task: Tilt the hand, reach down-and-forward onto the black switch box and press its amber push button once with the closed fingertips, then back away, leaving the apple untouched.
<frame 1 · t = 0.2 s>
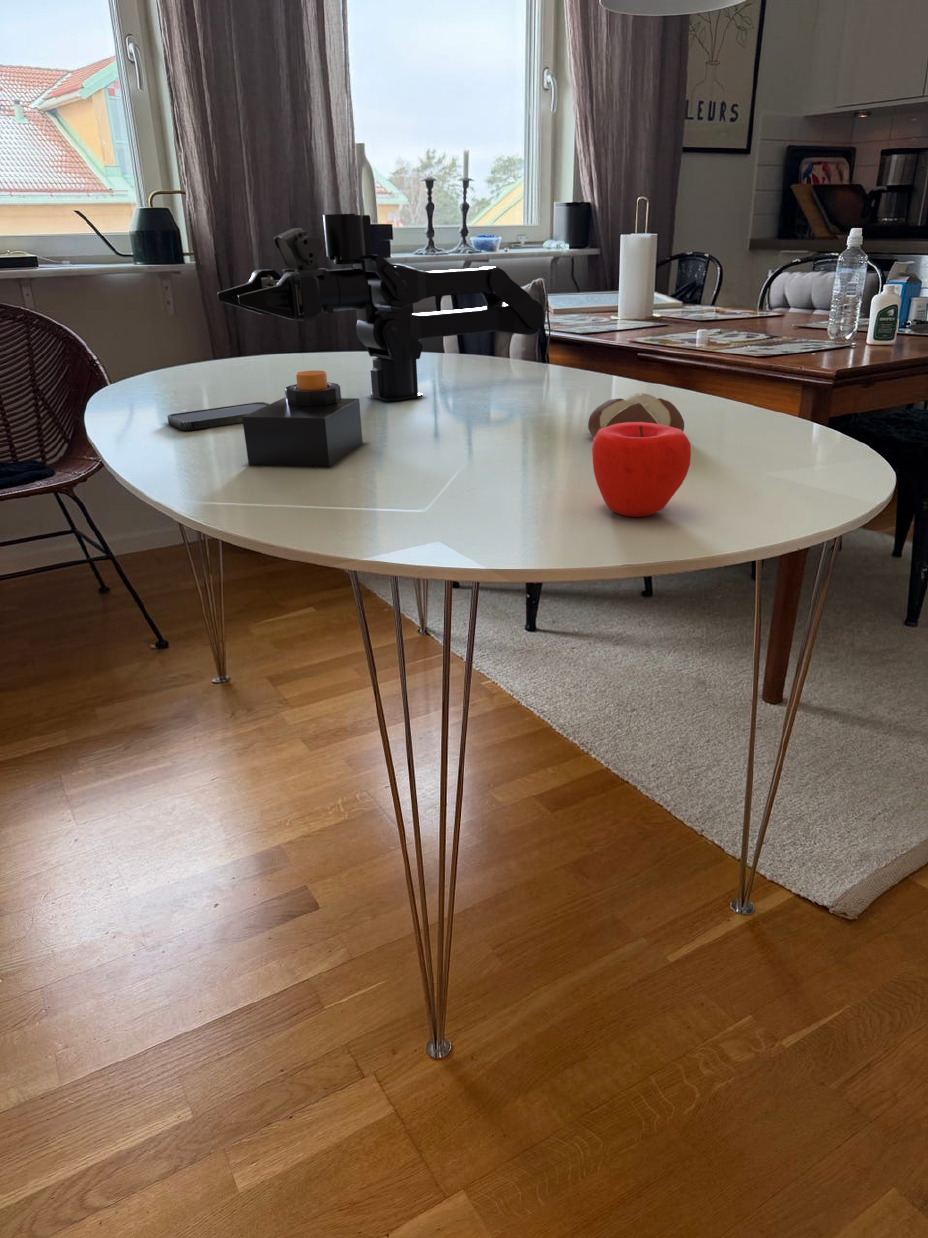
hand: (228, 298, 119), 17 cm above the table, tool horizontal, fingers open, 9 cm apart
black switch box: (308, 454, 104), on the table
phone: (226, 420, 125), on the table
apple: (636, 512, 80), on the table
button: (311, 381, 104), point 8 cm above the table, slide at 0.1 cm
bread: (632, 439, 107), on the table
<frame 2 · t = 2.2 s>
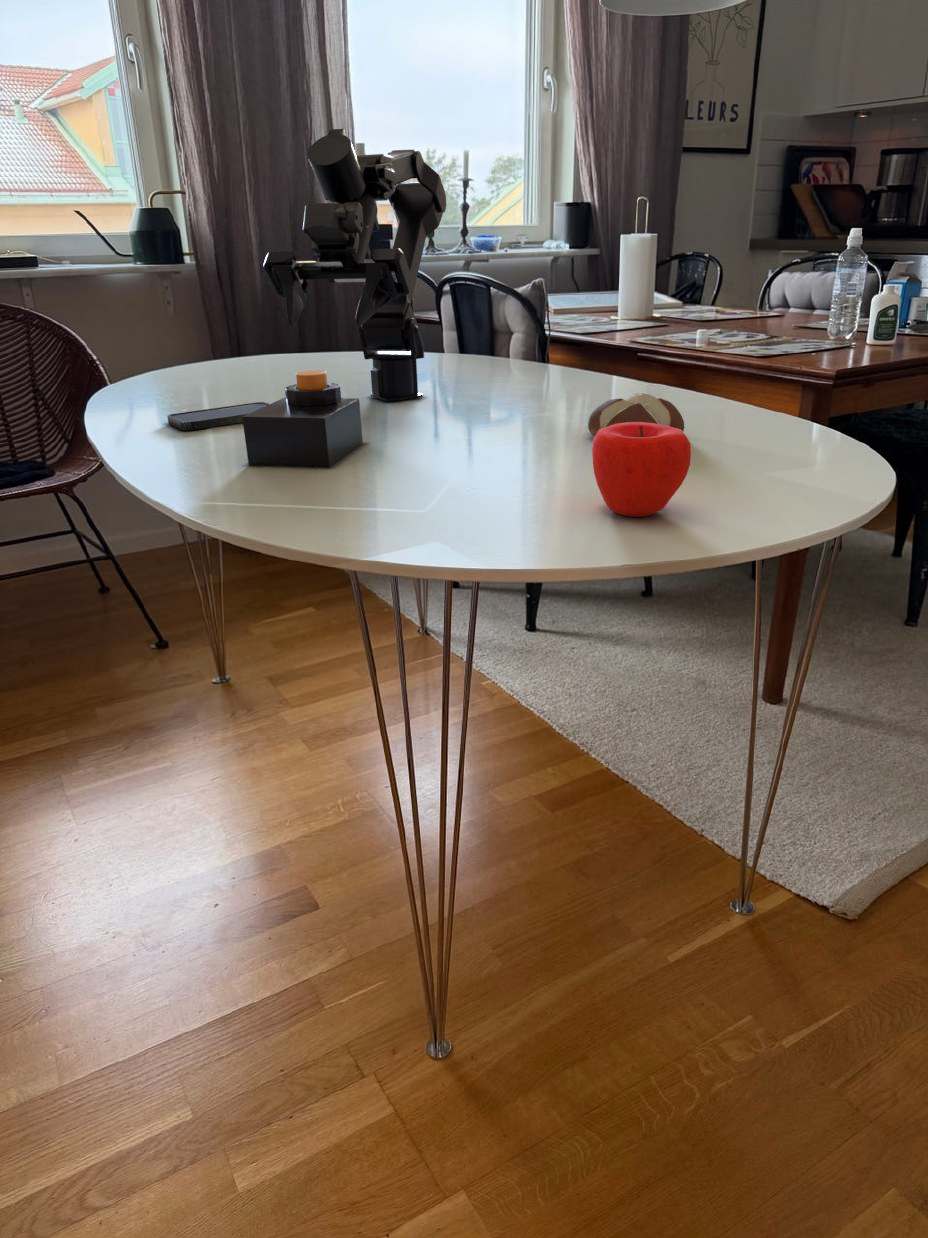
hand: (323, 323, 109), 14 cm above the table, tool tilted 45°, fingers open, 9 cm apart
nothing on the table moved.
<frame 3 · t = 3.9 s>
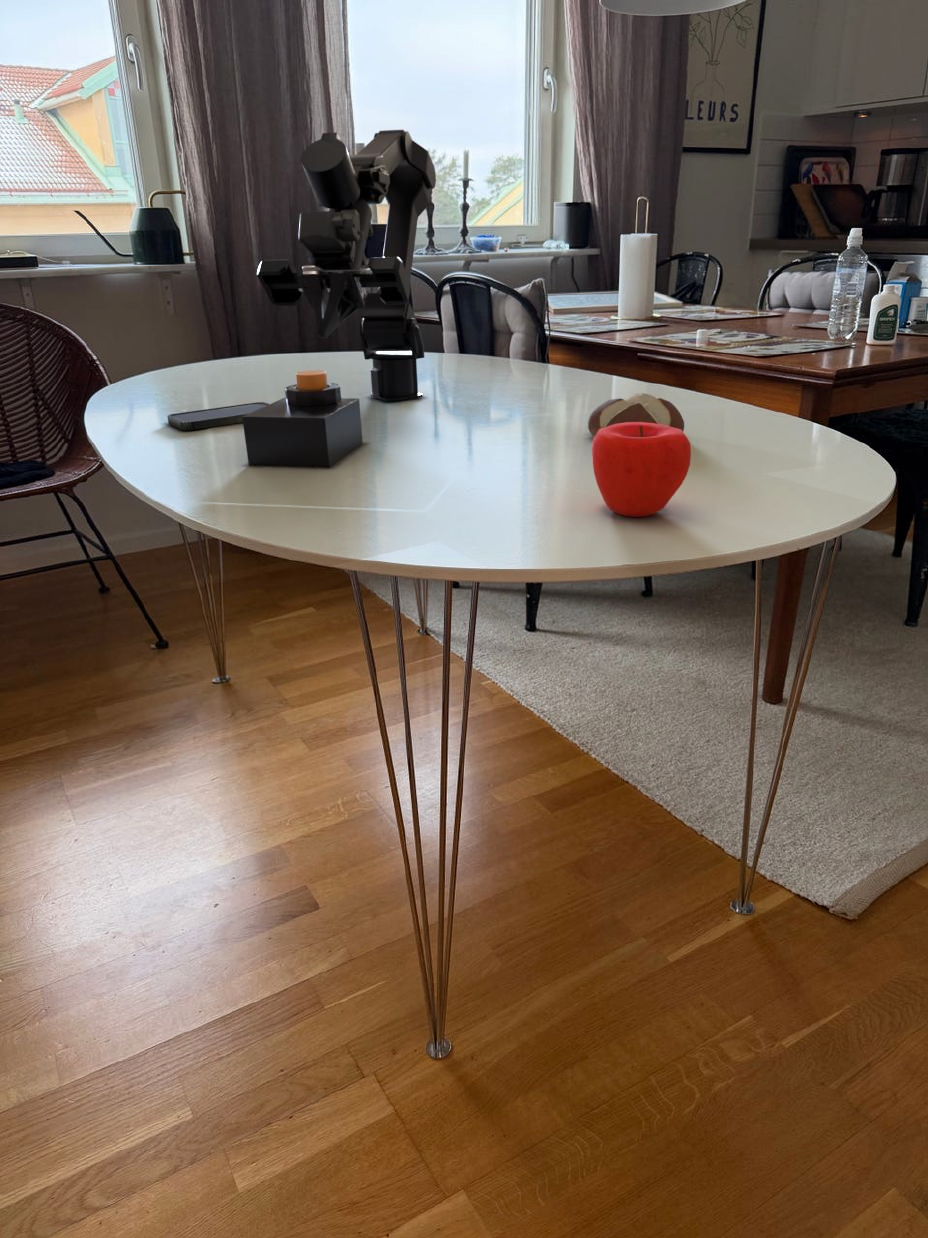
hand: (321, 335, 106), 13 cm above the table, tool tilted 45°, fingers closed
nothing on the table moved.
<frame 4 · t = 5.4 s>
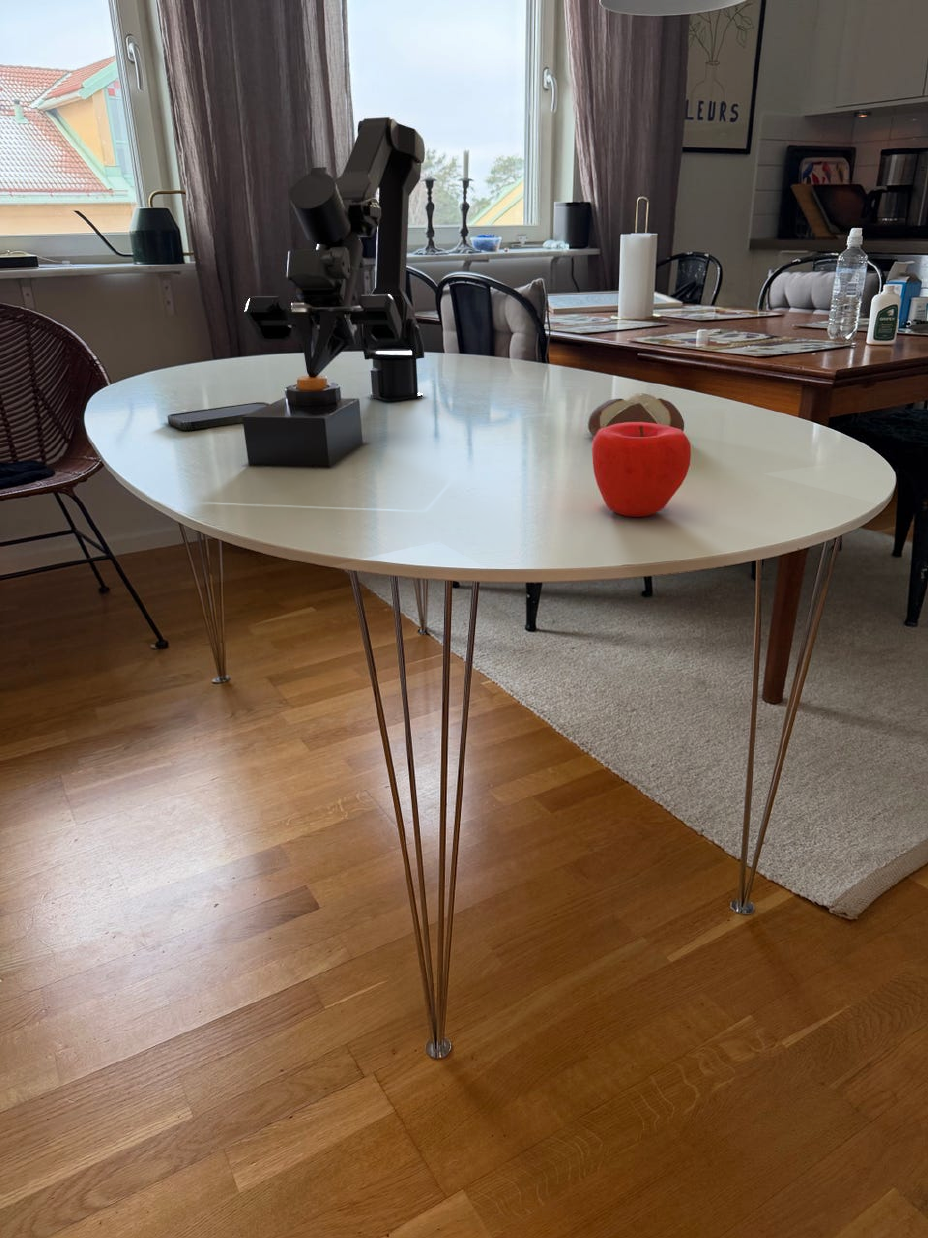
hand: (311, 375, 103), 9 cm above the table, tool tilted 45°, fingers closed, pressing on button
button: (312, 386, 104), point 8 cm above the table, slide at -0.5 cm, touching gripper
everything else where it was.
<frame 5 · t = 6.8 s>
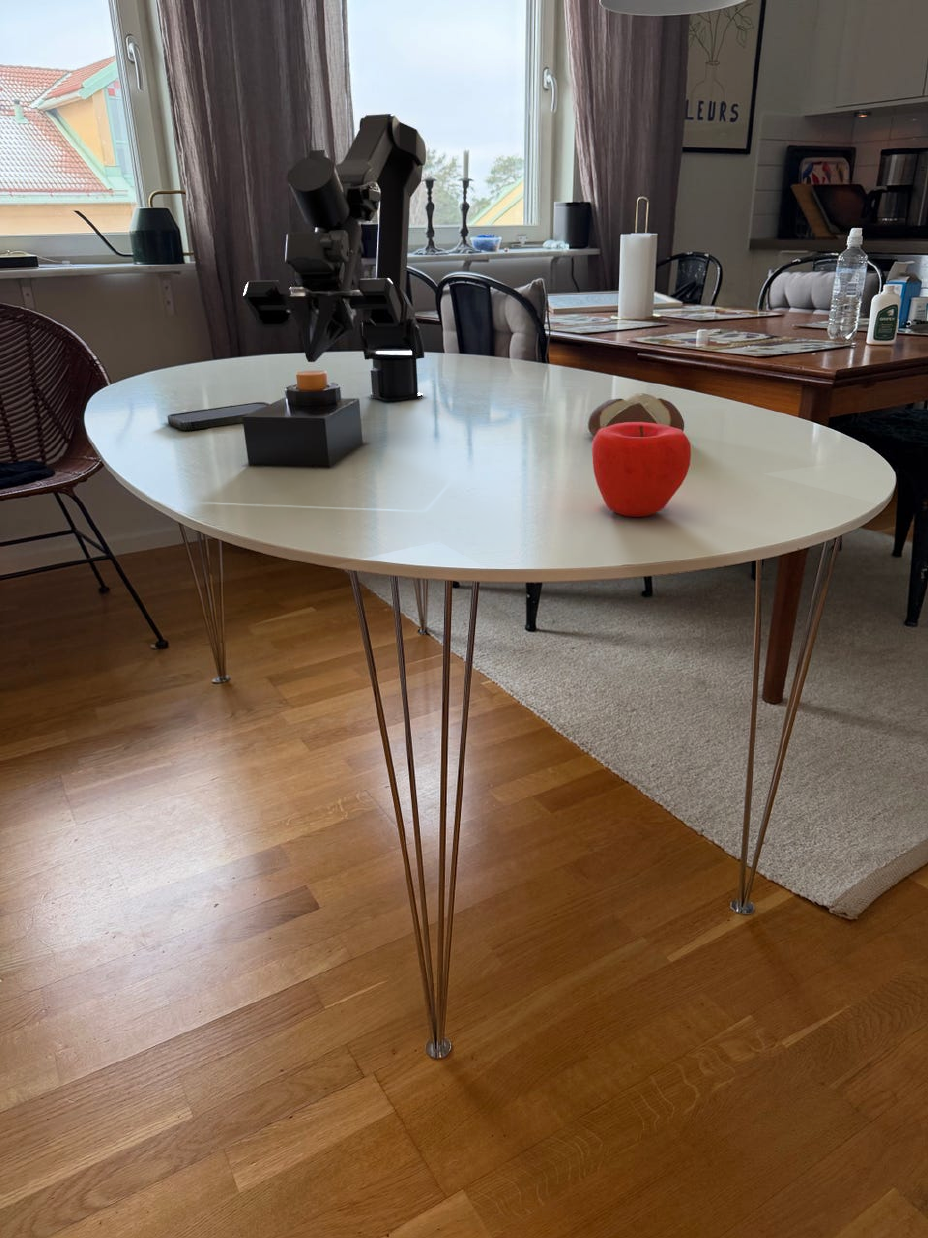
hand: (310, 359, 103), 11 cm above the table, tool tilted 45°, fingers closed
button: (311, 381, 104), point 8 cm above the table, slide at 0.1 cm
everything else where it was.
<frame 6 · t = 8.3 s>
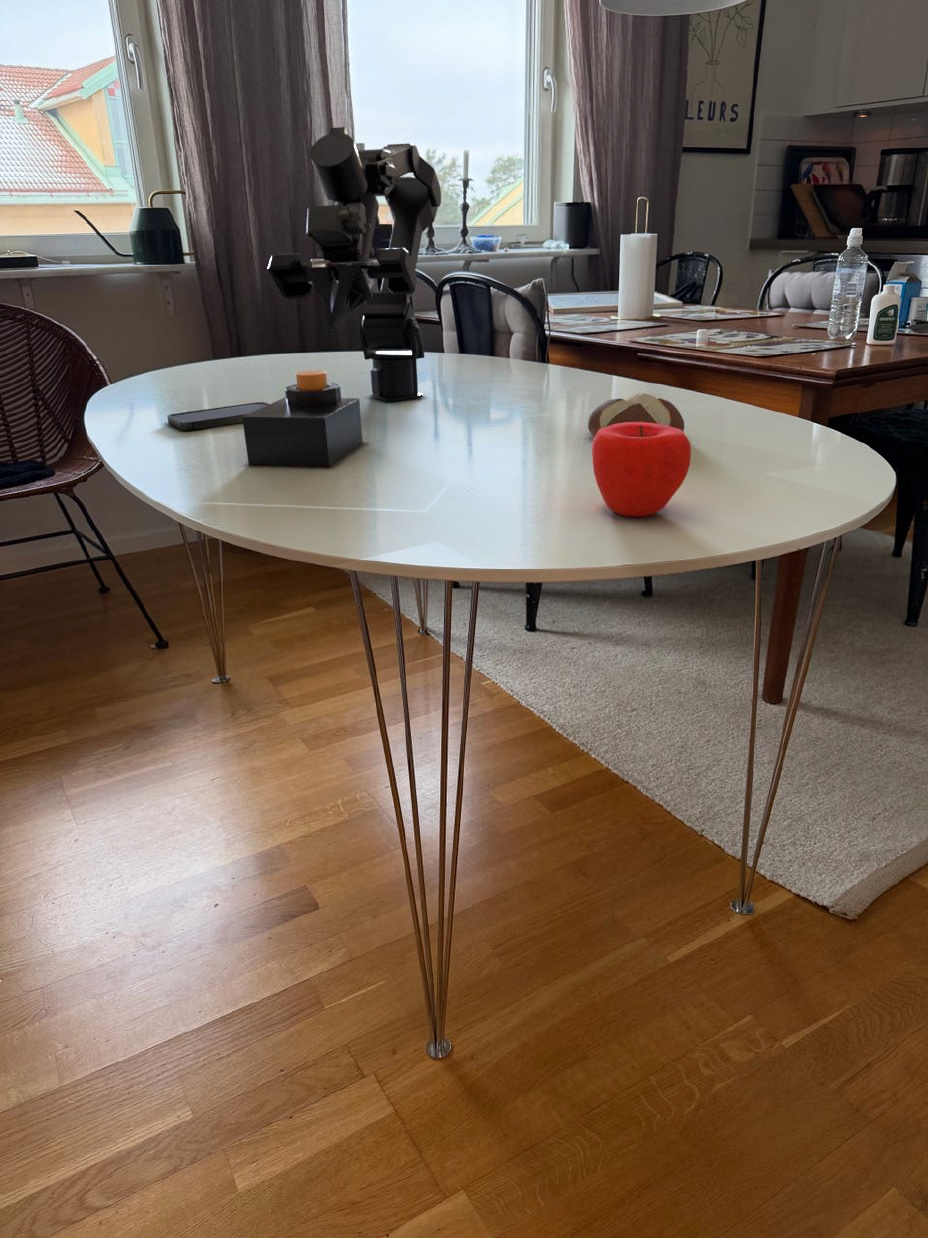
hand: (331, 327, 109), 14 cm above the table, tool tilted 45°, fingers closed
nothing on the table moved.
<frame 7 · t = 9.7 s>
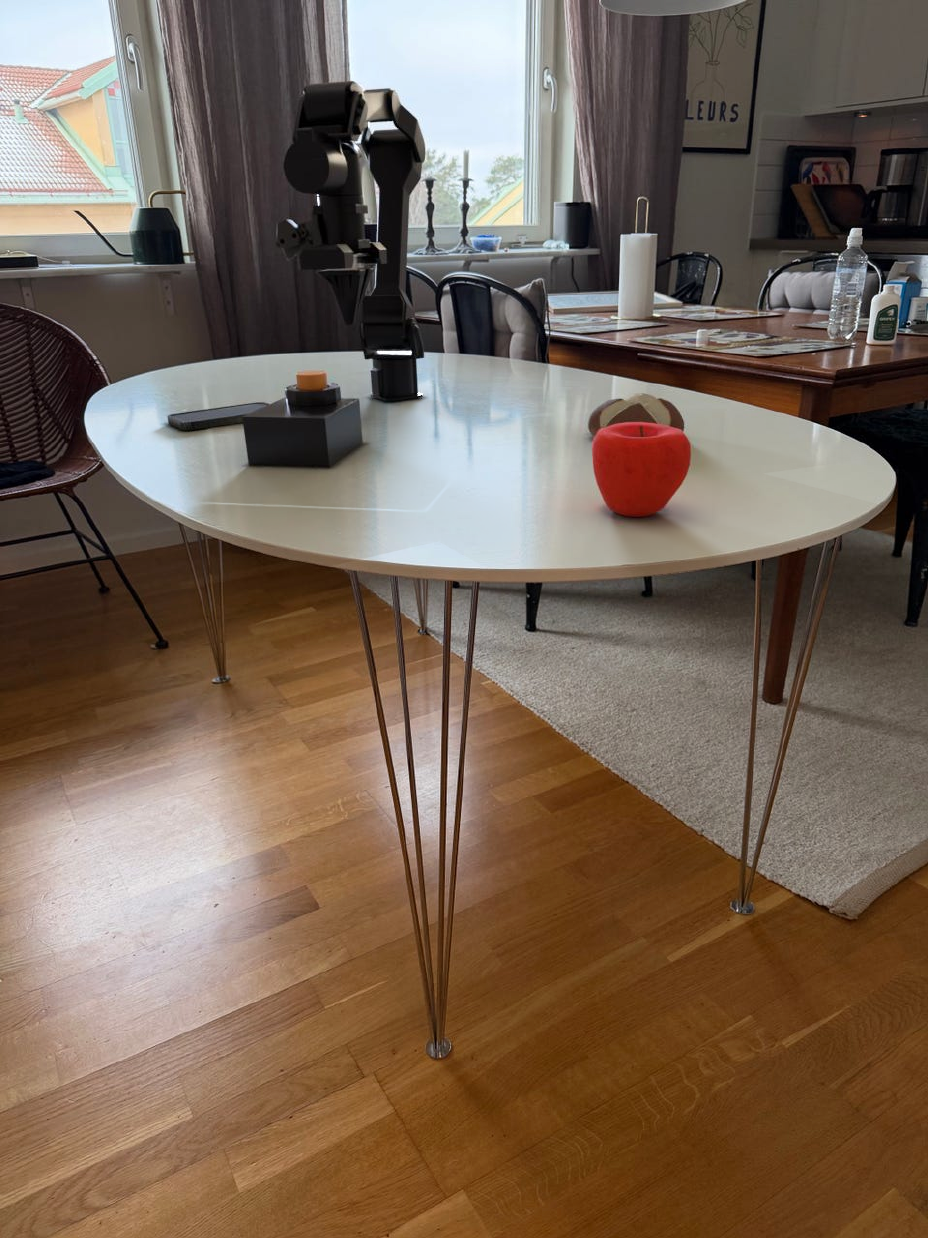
hand: (350, 324, 116), 13 cm above the table, tool pointing down, fingers closed
nothing on the table moved.
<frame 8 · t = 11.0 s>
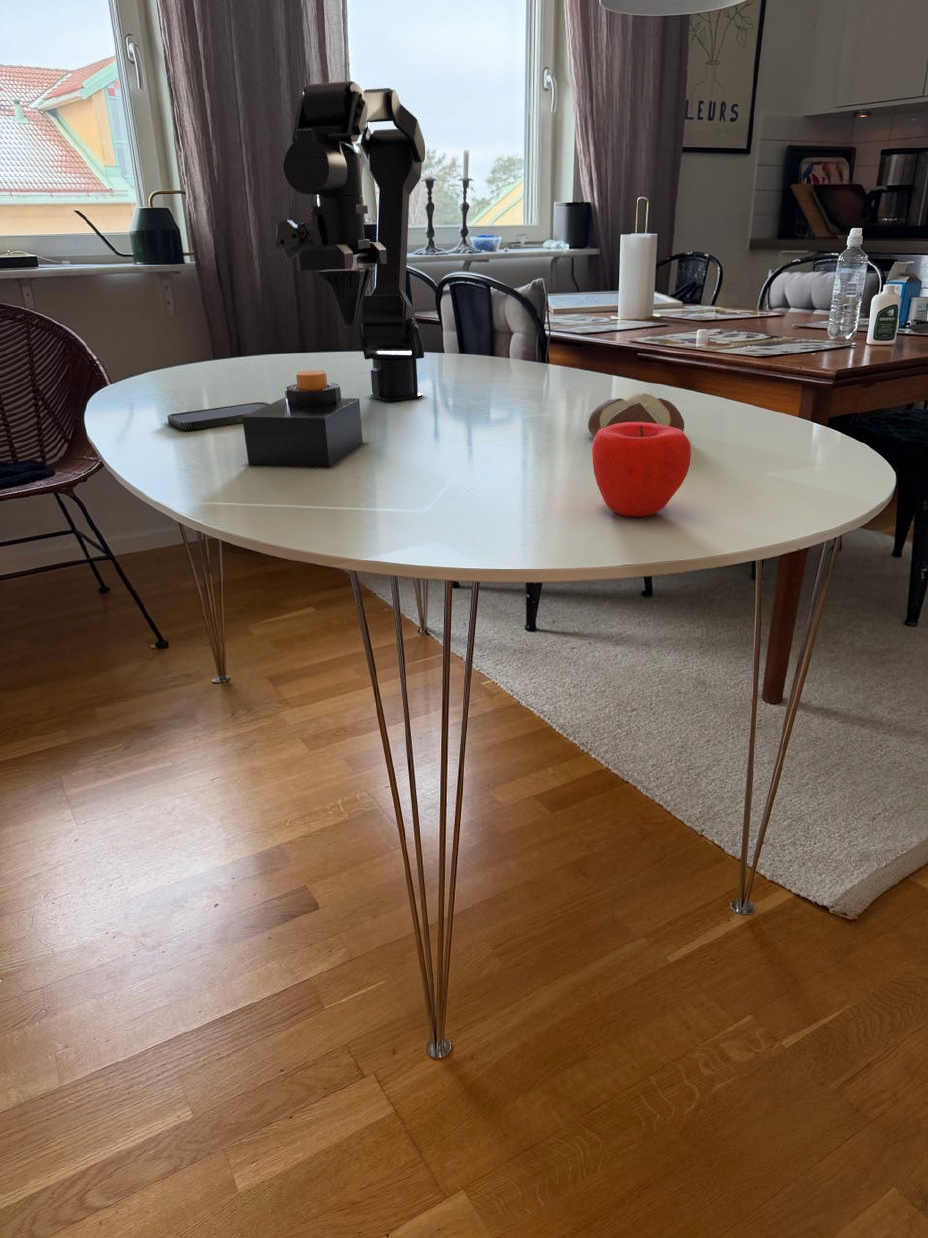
hand: (350, 324, 116), 13 cm above the table, tool pointing down, fingers closed
nothing on the table moved.
at the end: button pushed in 1.3 cm at the most during the clip, back to where it started at the end; button slide at 0.1 cm; apple moved 0.2 cm from its start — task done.
